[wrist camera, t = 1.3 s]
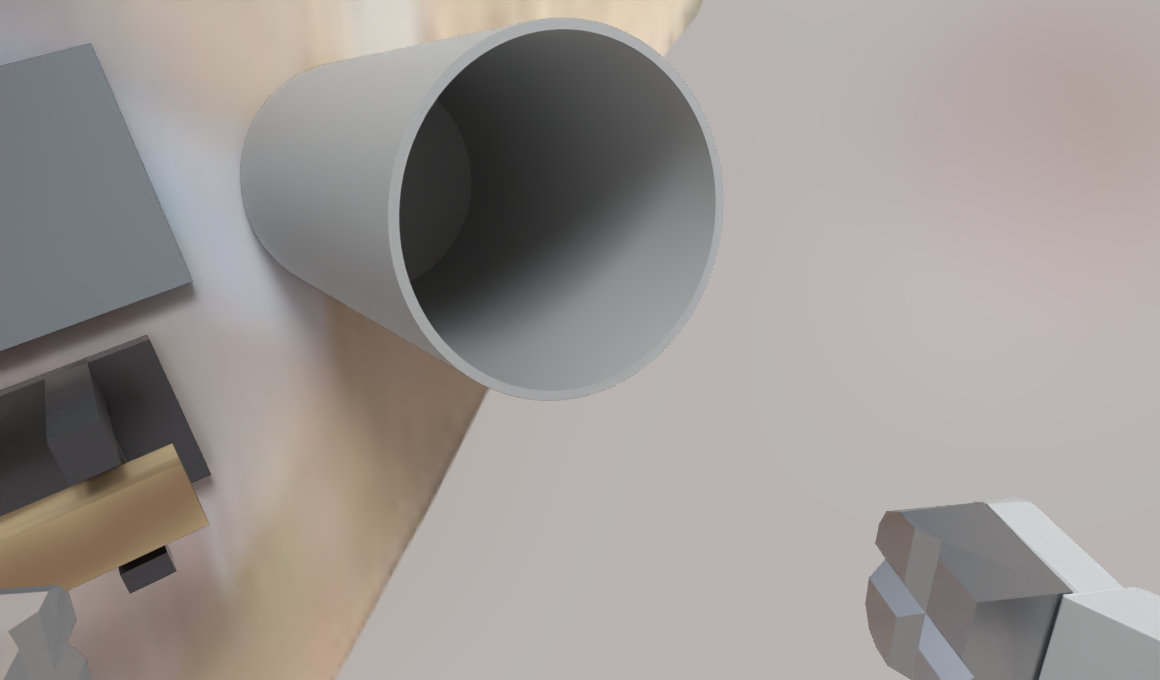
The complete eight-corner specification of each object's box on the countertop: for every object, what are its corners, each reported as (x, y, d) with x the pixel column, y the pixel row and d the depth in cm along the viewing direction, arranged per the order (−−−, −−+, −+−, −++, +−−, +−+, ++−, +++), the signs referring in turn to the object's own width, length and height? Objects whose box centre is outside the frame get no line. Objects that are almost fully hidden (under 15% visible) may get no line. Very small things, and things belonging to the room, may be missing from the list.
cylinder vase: (483, 105, 55) (762, 93, 34) (429, 311, 56) (668, 424, 35) (269, 28, 49) (448, -47, 28) (211, 262, 50) (342, 365, 28)
